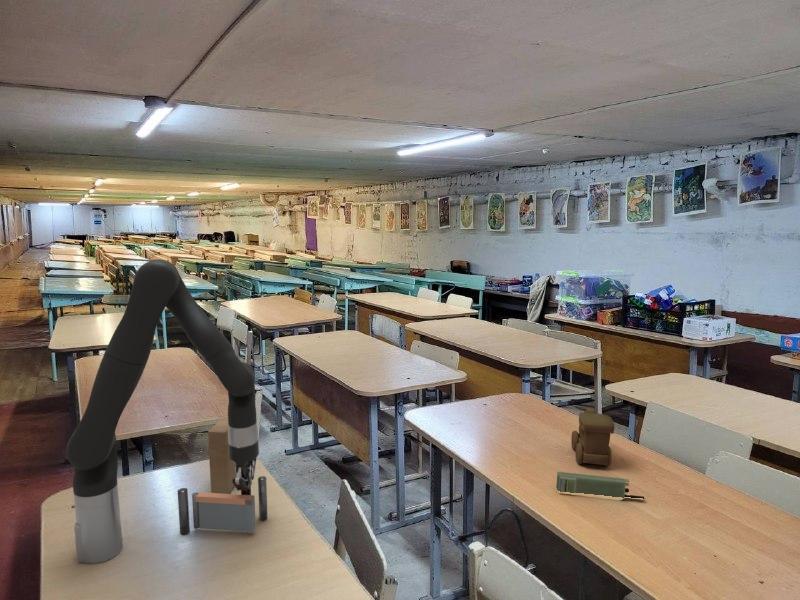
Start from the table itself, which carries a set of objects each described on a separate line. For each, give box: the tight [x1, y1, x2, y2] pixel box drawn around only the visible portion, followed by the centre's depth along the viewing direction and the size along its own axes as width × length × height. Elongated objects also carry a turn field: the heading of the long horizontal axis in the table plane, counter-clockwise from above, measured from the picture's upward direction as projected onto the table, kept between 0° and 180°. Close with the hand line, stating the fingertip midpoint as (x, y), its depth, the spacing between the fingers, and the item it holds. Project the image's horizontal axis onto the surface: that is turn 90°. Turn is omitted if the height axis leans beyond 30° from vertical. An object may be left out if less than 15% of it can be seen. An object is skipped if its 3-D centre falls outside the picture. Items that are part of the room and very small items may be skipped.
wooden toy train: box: [570, 407, 615, 467], centre depth 181 cm, size 20×11×17 cm, turn 170°
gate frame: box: [177, 475, 268, 536], centre depth 140 cm, size 22×3×12 cm, turn 110°
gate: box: [191, 491, 257, 534], centre depth 137 cm, size 16×2×9 cm, turn 85°
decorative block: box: [207, 416, 236, 494], centre depth 160 cm, size 11×6×20 cm, turn 175°
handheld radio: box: [555, 471, 645, 500], centre depth 157 cm, size 7×3×25 cm
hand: (246, 500), depth 139 cm, fingers closed
